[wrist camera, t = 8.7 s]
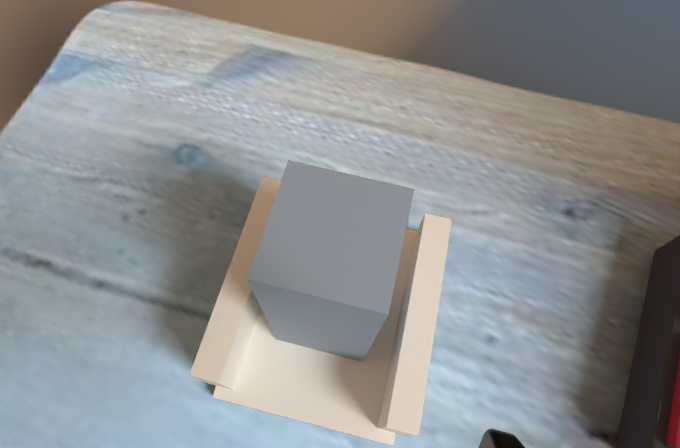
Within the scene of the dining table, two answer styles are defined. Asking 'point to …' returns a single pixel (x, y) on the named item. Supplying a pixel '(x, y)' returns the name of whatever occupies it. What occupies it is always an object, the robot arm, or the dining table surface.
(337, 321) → the grey rectangular prism
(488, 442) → the robot arm
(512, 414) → the dining table surface
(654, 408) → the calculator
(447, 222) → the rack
